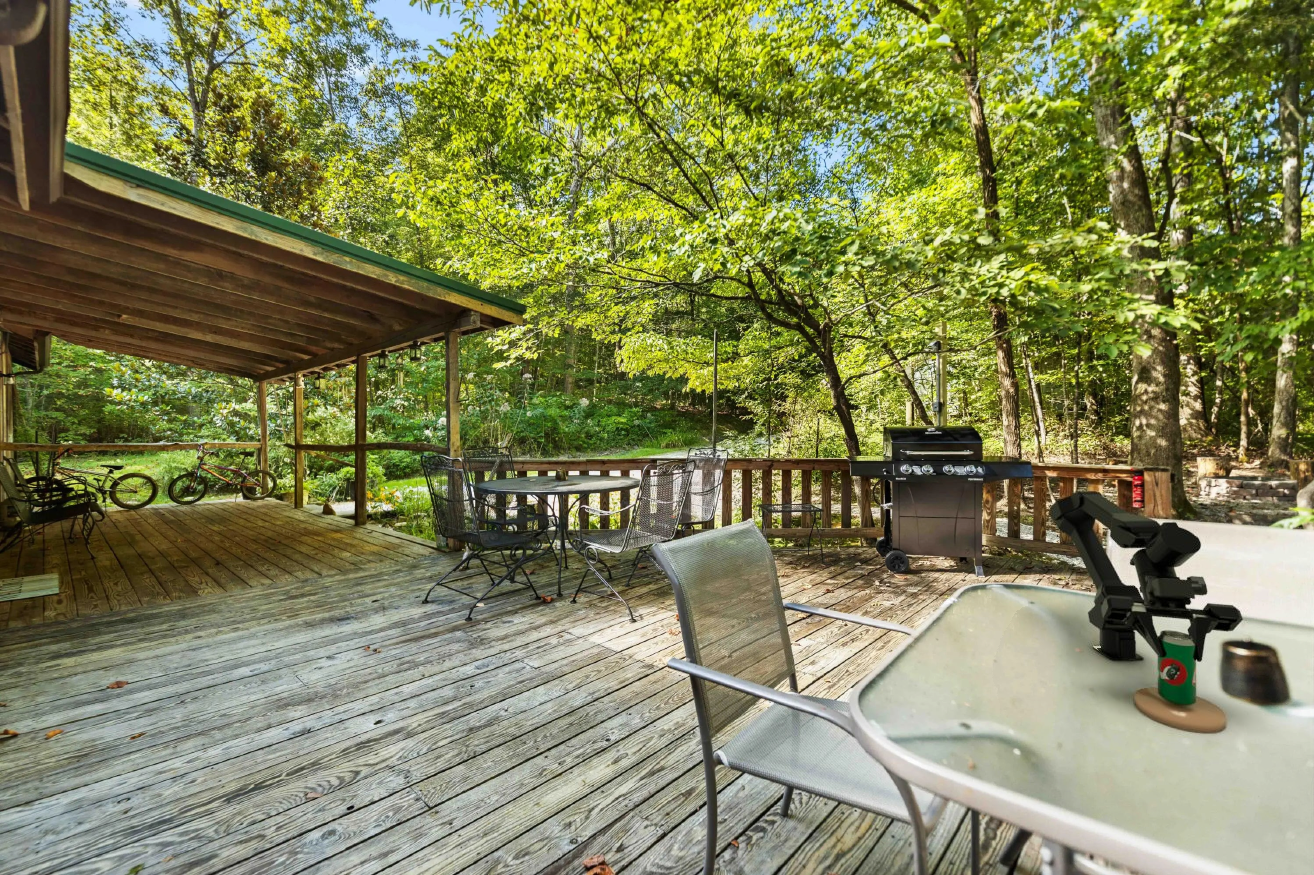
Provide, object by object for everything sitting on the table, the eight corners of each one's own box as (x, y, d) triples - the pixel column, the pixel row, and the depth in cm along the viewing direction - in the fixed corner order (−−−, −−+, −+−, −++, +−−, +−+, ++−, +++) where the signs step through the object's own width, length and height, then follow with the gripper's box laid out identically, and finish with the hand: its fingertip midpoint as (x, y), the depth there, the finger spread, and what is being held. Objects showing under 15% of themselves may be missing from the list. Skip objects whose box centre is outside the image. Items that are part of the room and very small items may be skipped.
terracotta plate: (1118, 695, 106) (1118, 687, 106) (1186, 695, 104) (1186, 687, 104) (1168, 732, 94) (1168, 724, 94) (1246, 733, 92) (1246, 724, 92)
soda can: (1202, 709, 96) (1202, 641, 95) (1166, 704, 98) (1166, 638, 97) (1186, 694, 101) (1186, 630, 100) (1152, 691, 102) (1151, 628, 102)
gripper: (1104, 554, 105) (1123, 634, 96) (1238, 561, 97) (1271, 649, 88) (1094, 580, 113) (1110, 656, 104) (1217, 589, 104) (1245, 673, 95)
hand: (1180, 658), depth 97 cm, fingers closed on soda can, 5 cm apart
